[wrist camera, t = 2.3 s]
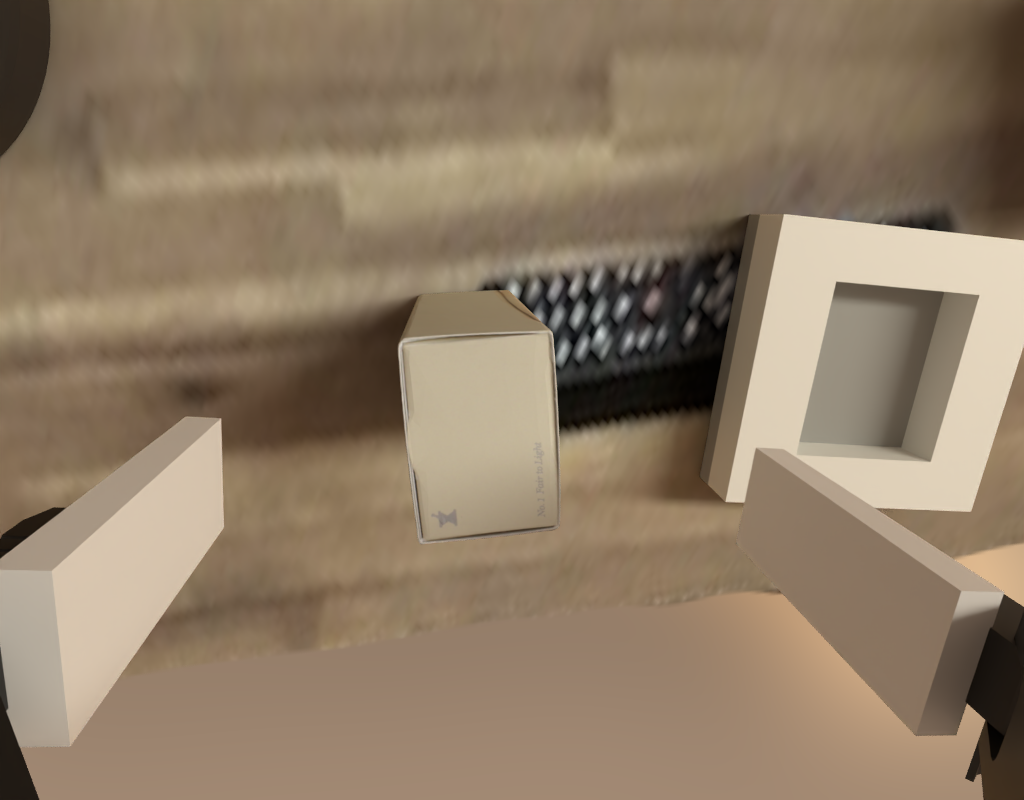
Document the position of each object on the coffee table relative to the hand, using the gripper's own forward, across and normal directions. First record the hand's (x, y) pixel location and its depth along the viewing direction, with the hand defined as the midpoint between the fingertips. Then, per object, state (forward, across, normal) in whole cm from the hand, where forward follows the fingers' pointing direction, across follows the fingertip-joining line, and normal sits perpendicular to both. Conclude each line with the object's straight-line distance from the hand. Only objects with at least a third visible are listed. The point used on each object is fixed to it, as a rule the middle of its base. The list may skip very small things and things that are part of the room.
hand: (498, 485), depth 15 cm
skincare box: (+15, 0, 0) cm, 15 cm away
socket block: (+14, +19, +1) cm, 24 cm away
